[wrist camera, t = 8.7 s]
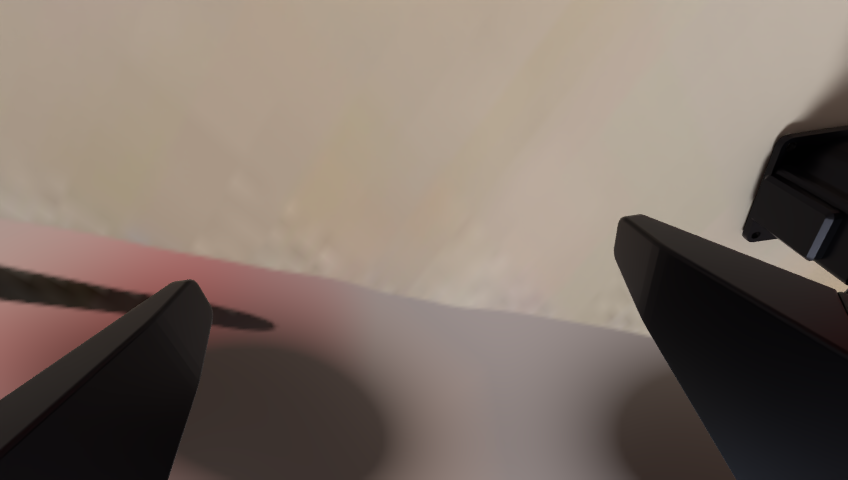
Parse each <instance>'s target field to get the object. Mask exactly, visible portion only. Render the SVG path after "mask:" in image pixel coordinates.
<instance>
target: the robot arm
mask: <svg viewBox="0 0 848 480" xmlns="http://www.w3.org/2000/svg"><path fill="white" fill-rule="evenodd" d="M788 144H789V146H787V145H788ZM742 236H743V237H744V238H745V239H746V240H747V241H749V242H757V241H764V240H771V239H779V240H781V241H782V242H783V243H785V244H786V245H787V246H789V247H790V248H791V249H793V250H794V251H795V252H797V253H798V254H799V255H801V256H802V257H803V258H805V259H806V260H808V261H812V260H813V261H815V262H816V263H817V264H819V265H820V266H821V267H823V268H824V269H825V270H827V271H828V272H830V273H831V274H832V275H834V276H835V277H836V278H838V279H839V280H840V281H842V282H843V283H844V284H846V285H848V126H843V127H836V128H830V129H823V130H816V131H809V132H803V133H796V134H789V135H786V136H784V137H782V138H780V139H779V140H778V142H777V143H776V145H775V147H774V150H773V153H772V155H771V158H770V161H769V163H768V166H767V169H766V171H765V174H764V177H763V179H762V182H761V185H760V187H759V190H758V193H757V195H756V198H755V201H754V204H753V206H752V209H751V212H750V214H749V217H748V220H747V222H746V225H745V228H744V230H743V234H742ZM614 256H615V260H616V262H617V264H618V267H619V269H620V271H621V273H622V276H623V278H624V280H625V283H626V285H627V287H628V289H629V292H630V294H631V296H632V298H633V301H634V303H635V305H636V308H637V310H638V312H639V314H640V316H641V318H642V320H643V322H644V324H645V326H646V327H647V329H648V331H649V333H650V334H651V336H652V338H653V339H654V341H655V343H656V344H657V346H658V348H659V350H660V351H661V353H662V355H663V356H664V358H665V360H666V361H667V363H668V365H669V367H670V368H671V370H672V372H673V373H674V375H675V377H676V378H677V380H678V382H679V383H680V385H681V387H682V389H683V390H684V392H685V394H686V395H687V397H688V399H689V400H690V402H691V404H692V405H693V407H694V409H695V411H696V412H697V414H698V416H699V417H700V419H701V421H702V422H703V424H704V426H705V427H706V429H707V431H708V433H709V434H710V436H711V438H712V439H713V441H714V443H715V444H716V446H717V448H718V449H719V451H720V452H721V455H722V456H723V458H724V460H725V461H726V463H727V465H728V466H729V468H730V469H731V471H732V473H733V475H734V477H735V478H736V480H848V289H847V290H846V291H845V292H844V293H843V292H838V293H837V291H836V290H835V289H833V288H830V287H828V286H825V285H823V284H820V283H817V282H815V281H812V280H810V279H807V278H805V277H802V276H799V275H797V274H794V273H792V272H789V271H787V270H784V269H781V268H779V267H776V266H774V265H771V264H769V263H766V262H763V261H761V260H758V259H756V258H753V257H751V256H748V255H745V254H743V253H740V252H738V251H735V250H733V249H730V248H727V247H725V246H722V245H720V244H717V243H715V242H712V241H709V240H707V239H704V238H702V237H699V236H697V235H694V234H691V233H689V232H686V231H684V230H681V229H679V228H676V227H673V226H671V225H668V224H666V223H663V222H661V221H658V220H655V219H653V218H650V217H648V216H645V215H642V214H638V215H631V216H624V217H622V218H621V219H620V220H619V223H618V227H617V233H616V240H615V246H614ZM212 319H213V311H212V308H211V305H210V304H209V302H208V300H207V298H206V297H205V295H204V293H203V292H202V290H201V288H200V287H199V285H198V284H197V283H196V282H195V281H194V280H191V279H189V280H183V281H175V282H172V283H170V284H169V285H168V286H166V287H165V288H163V289H161V290H160V291H159V292H157V293H156V294H154V295H153V296H151V297H150V298H148V299H147V300H145V301H144V302H142V303H141V304H140V305H138V306H137V307H135V308H134V309H132V310H131V311H129V312H128V313H126V314H125V315H124V316H122V317H121V318H119V319H118V320H116V321H115V322H113V323H112V324H110V325H109V326H108V327H106V328H105V329H104V330H102V331H100V332H99V333H97V334H96V335H94V336H93V337H92V338H90V339H89V340H87V341H86V342H84V343H83V344H81V345H80V346H78V347H77V348H76V349H74V350H72V351H71V352H70V353H68V354H67V355H65V356H64V357H62V358H61V359H59V360H58V361H57V362H55V363H54V364H52V365H51V366H49V367H48V368H46V369H45V370H43V371H42V372H40V373H39V374H38V375H36V376H35V377H33V378H32V379H30V380H29V381H27V382H26V383H24V384H23V385H21V386H20V387H19V388H17V389H16V390H14V391H13V392H11V393H10V394H8V395H7V396H5V397H4V398H3V399H1V400H0V480H168V478H169V475H170V471H171V469H172V465H173V462H174V459H175V456H176V453H177V450H178V447H179V444H180V441H181V438H182V435H183V432H184V428H185V425H186V422H187V419H188V416H189V413H190V410H191V407H192V404H193V400H194V397H195V394H196V391H197V388H198V384H199V381H200V376H201V372H202V368H203V363H204V358H205V353H206V348H207V343H208V338H209V334H210V329H211V324H212Z"/></svg>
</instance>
